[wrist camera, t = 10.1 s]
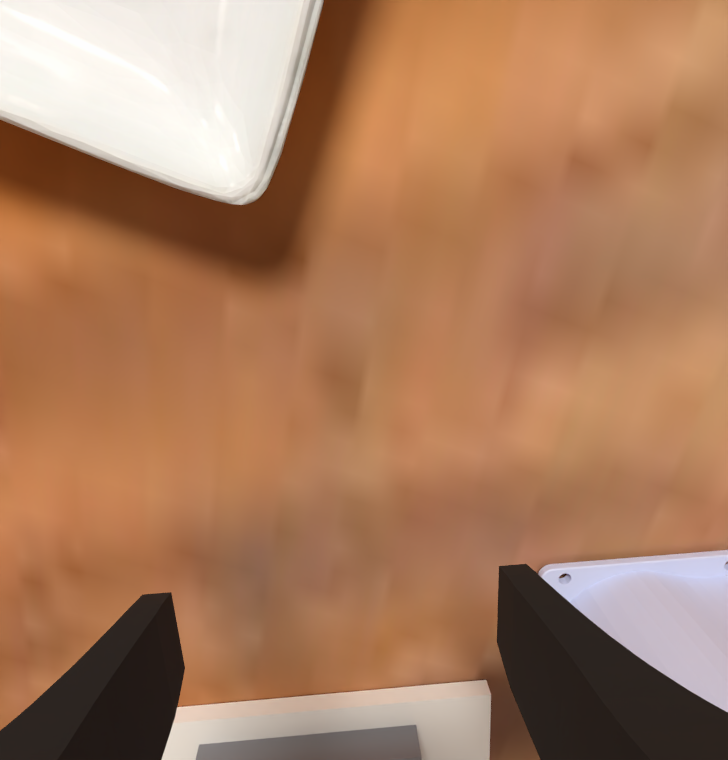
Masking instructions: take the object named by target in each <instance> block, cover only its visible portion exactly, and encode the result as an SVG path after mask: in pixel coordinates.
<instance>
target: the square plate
mask: <svg viewBox="0 0 728 760" xmlns="http://www.w3.org/2000/svg"><path fill="white" fill-rule="evenodd" d="M323 3H324V0H0V120H2V121H5V122H7V123H10V124H13V125H15V126H18V127H20V128H23V129H25V130H28V131H30V132H33V133H35V134H38V135H40V136H43V137H45V138H48V139H50V140H53V141H55V142H58V143H60V144H63V145H65V146H68V147H70V148H73V149H75V150H78V151H80V152H83V153H85V154H88V155H91V156H93V157H96V158H98V159H101V160H103V161H106V162H108V163H111V164H113V165H116V166H118V167H121V168H124V169H126V170H129V171H132V172H134V173H137V174H139V175H142V176H145V177H147V178H150V179H152V180H155V181H158V182H160V183H163V184H166V185H168V186H171V187H173V188H176V189H179V190H183V191H186V192H189V193H192V194H195V195H198V196H202V197H205V198H208V199H212V200H215V201H220V202H224V203H228V204H235V205H246V204H249V203H252V202H254V201H256V200H257V199H259V198H260V197H261V195H262V194H263V193H264V191H265V190H266V189H267V187H268V185H269V183H270V181H271V178H272V176H273V173H274V171H275V168H276V166H277V164H278V161H279V159H280V156H281V153H282V150H283V147H284V143H285V140H286V137H287V133H288V130H289V126H290V123H291V120H292V116H293V113H294V110H295V106H296V103H297V99H298V96H299V93H300V89H301V86H302V83H303V79H304V76H305V72H306V68H307V65H308V61H309V57H310V53H311V49H312V45H313V41H314V38H315V34H316V30H317V26H318V22H319V18H320V14H321V11H322V7H323Z"/></svg>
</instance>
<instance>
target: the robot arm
mask: <svg viewBox="0 0 728 760" xmlns="http://www.w3.org/2000/svg"><path fill="white" fill-rule="evenodd" d="M726 562H728V550H722V551H709V552H697V553H684V554H672V555H660V556H647V557H635V558H622V559H610V560H597V561H585V562H572V563H560V564H549V565H546V566H544V567H542V568H541V570H540V571H539V573H538V574H537V573H536V572H535V571H534V570H533V569H531V568H530V567H529V566H528V565H527V564H520V565H508V566H499V589H498V624H497V643H498V647H499V650H500V654H501V657H502V661H503V664H504V668H505V671H506V674H507V678H508V681H509V684H510V688H511V690H512V692H513V695H514V697H515V700H516V702H517V705H518V707H519V709H520V712H521V714H522V717H523V719H524V721H525V724H526V726H527V729H528V731H529V733H530V736H531V738H532V740H533V743H534V745H535V747H536V750H537V752H538V754H539V757H540V759H541V760H728V563H727V564H725V563H726ZM565 573H566V574H567V575H566V576H565V577H563V578H559V577H560V576H561V575H562V574H565ZM184 670H185V666H184V661H183V655H182V650H181V644H180V639H179V633H178V628H177V622H176V617H175V611H174V606H173V600H172V595H171V593H158V594H146V595H142V596H141V597H140V598H139V599H138V600H137V601H136V602H135V603H134V604H133V605H132V606H131V607H130V608H129V609H128V610H127V611H126V612H125V613H124V614H123V615H122V616H121V617H120V619H119V620H118V621H117V622H116V623H115V624H114V625H113V626H112V627H111V628H110V629H109V630H108V631H107V632H106V633H105V634H104V635H103V636H102V637H101V638H100V639H99V640H98V641H97V642H96V643H95V644H94V645H93V646H92V647H91V648H90V649H89V650H88V651H87V652H86V653H85V654H84V655H83V656H82V657H81V658H80V659H79V660H78V661H77V662H76V663H75V664H74V665H73V666H72V667H71V668H70V669H69V670H68V671H67V672H66V673H65V674H64V675H63V676H62V677H61V678H60V679H58V680H57V681H56V682H55V683H54V684H53V685H52V686H51V687H50V688H49V689H48V690H47V691H46V692H44V693H43V694H42V695H41V696H40V697H39V698H38V699H37V700H36V701H35V702H34V703H33V704H32V705H30V706H29V707H28V708H27V709H26V710H25V711H23V712H22V713H21V714H20V715H19V716H18V717H16V718H15V719H14V720H13V721H12V722H11V723H9V724H8V725H7V726H6V727H4V728H3V729H2V730H1V731H0V760H161V759H162V756H163V753H164V750H165V747H166V744H167V741H168V738H169V735H170V732H171V728H172V725H173V722H174V719H175V715H176V710H177V705H178V701H179V696H180V691H181V686H182V680H183V675H184Z"/></svg>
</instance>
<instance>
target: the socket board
mask: <svg viewBox="0 0 728 760" xmlns="http://www.w3.org/2000/svg"><path fill="white" fill-rule="evenodd" d="M490 719H491V693H490V690H489V687H488V684H487V681H486V680H478V681H467V682H455V683H444V684H433V685H422V686H411V687H399V688H388V689H377V690H366V691H354V692H343V693H332V694H321V695H309V696H298V697H287V698H276V699H265V700H253V701H242V702H231V703H220V704H208V705H197V706H186V707H177V710H176V715H175V719H174V722H173V725H172V728H171V732H170V735H169V738H168V741H167V744H166V747H165V750H164V753H163V756H162V759H161V760H489V757H490Z"/></svg>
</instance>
